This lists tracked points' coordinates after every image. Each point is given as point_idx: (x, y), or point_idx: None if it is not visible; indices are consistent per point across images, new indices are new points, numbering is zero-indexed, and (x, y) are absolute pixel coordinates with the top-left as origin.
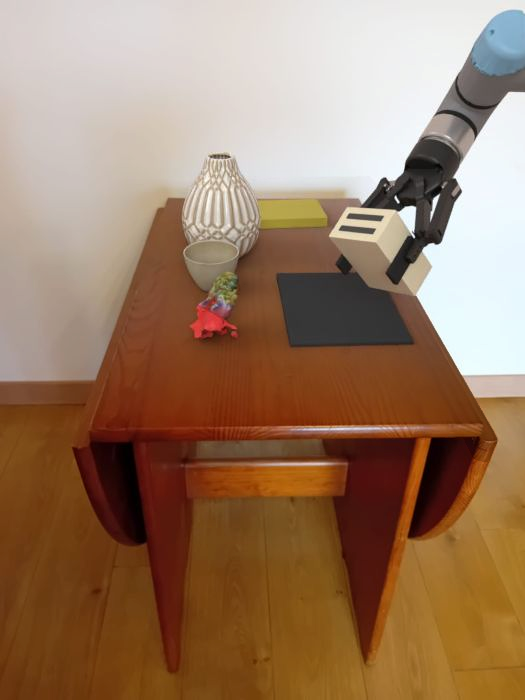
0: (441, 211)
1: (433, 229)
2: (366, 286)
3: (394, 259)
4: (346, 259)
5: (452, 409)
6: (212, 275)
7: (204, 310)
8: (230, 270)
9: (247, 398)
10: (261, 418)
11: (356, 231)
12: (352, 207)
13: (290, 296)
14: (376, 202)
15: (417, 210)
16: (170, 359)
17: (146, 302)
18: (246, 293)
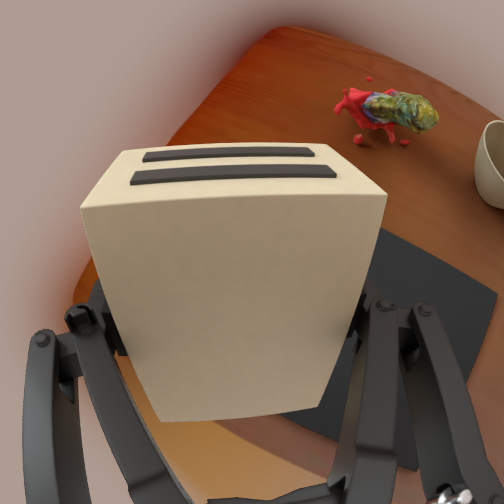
0: (23, 414)
1: (35, 343)
2: None
3: None
4: None
5: (89, 295)
6: (477, 149)
7: (366, 77)
8: (485, 176)
9: (238, 109)
10: (204, 110)
11: (222, 148)
12: (357, 193)
13: (428, 270)
14: (435, 434)
15: (132, 423)
16: (343, 78)
17: (464, 107)
18: (463, 218)
